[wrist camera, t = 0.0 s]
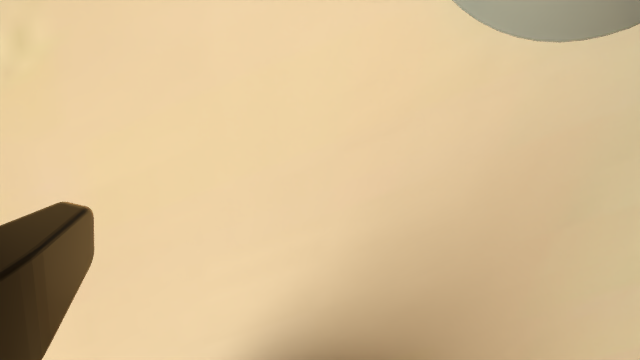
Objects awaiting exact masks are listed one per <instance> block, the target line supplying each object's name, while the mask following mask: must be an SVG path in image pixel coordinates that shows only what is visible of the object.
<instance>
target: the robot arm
mask: <svg viewBox="0 0 640 360" xmlns="http://www.w3.org/2000/svg"><path fill="white" fill-rule="evenodd" d="M93 256H94V217H93V212H92V210H91V209H90V208H89V207H86V206H82V205H78V204H73V203H69V202H60V203H56V204H54V205H51V206H49V207H46V208H44V209H41V210H39V211H36V212H34V213H31V214H28V215H26V216H23V217H21V218H18V219H16V220H13V221H11V222H8V223H6V224H3V225H1V226H0V360H42V358H43V357H44V355H45V353H46V351H47V349H48V347H49V346H50V344H51V342H52V340H53V338H54V336H55V334H56V332H57V330H58V328H59V326H60V324H61V322H62V320H63V318H64V316H65V314H66V313H67V311H68V309H69V307H70V305H71V303H72V301H73V299H74V297H75V295H76V293H77V291H78V289H79V287H80V285H81V283H82V281H83V279H84V277H85V275H86V274H87V272H88V270H89V268H90V265H91V263H92V260H93Z"/></svg>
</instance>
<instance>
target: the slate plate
mask: <svg viewBox="0 0 640 360" xmlns="http://www.w3.org/2000/svg"><path fill="white" fill-rule="evenodd" d="M453 1H454V2H455V3H456V4H457V5H458V6H459V7H460V8H461V9H462V10H463V11H465V12H466V13H468V14H469V15H471V16H472V17H473V18H475V19H476V20H478V21H479V22H481V23H483V24H485V25H487V26H489V27H491V28H493V29H495V30H497V31H500V32H503V33H506V34H509V35H512V36H515V37H518V38H524V39H529V40H534V41H545V42H569V41H581V40H587V39H592V38H597V37H602V36H606V35H610V34H613V33H616V32H619V31H622V30H625V29H628V28H631V27H633V26H635V25H638V24H640V0H453Z"/></svg>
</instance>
